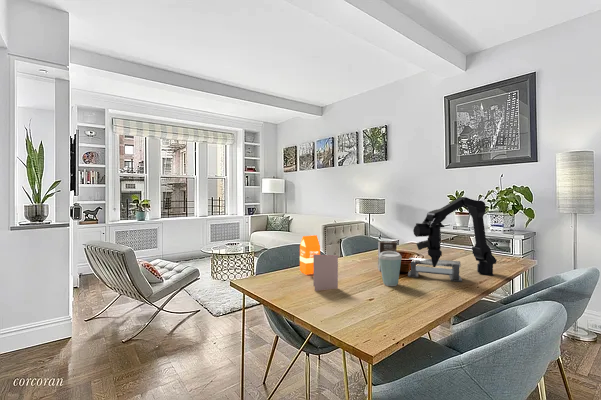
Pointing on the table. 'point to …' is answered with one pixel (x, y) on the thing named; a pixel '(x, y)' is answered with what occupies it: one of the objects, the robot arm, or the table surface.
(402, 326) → the table surface
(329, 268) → the greeting card
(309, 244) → the orange juice
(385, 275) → the disposable coffee cup
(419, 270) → the grey plate
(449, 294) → the table surface
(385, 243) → the coffee box
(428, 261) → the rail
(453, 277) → the dark grey notched cradle
